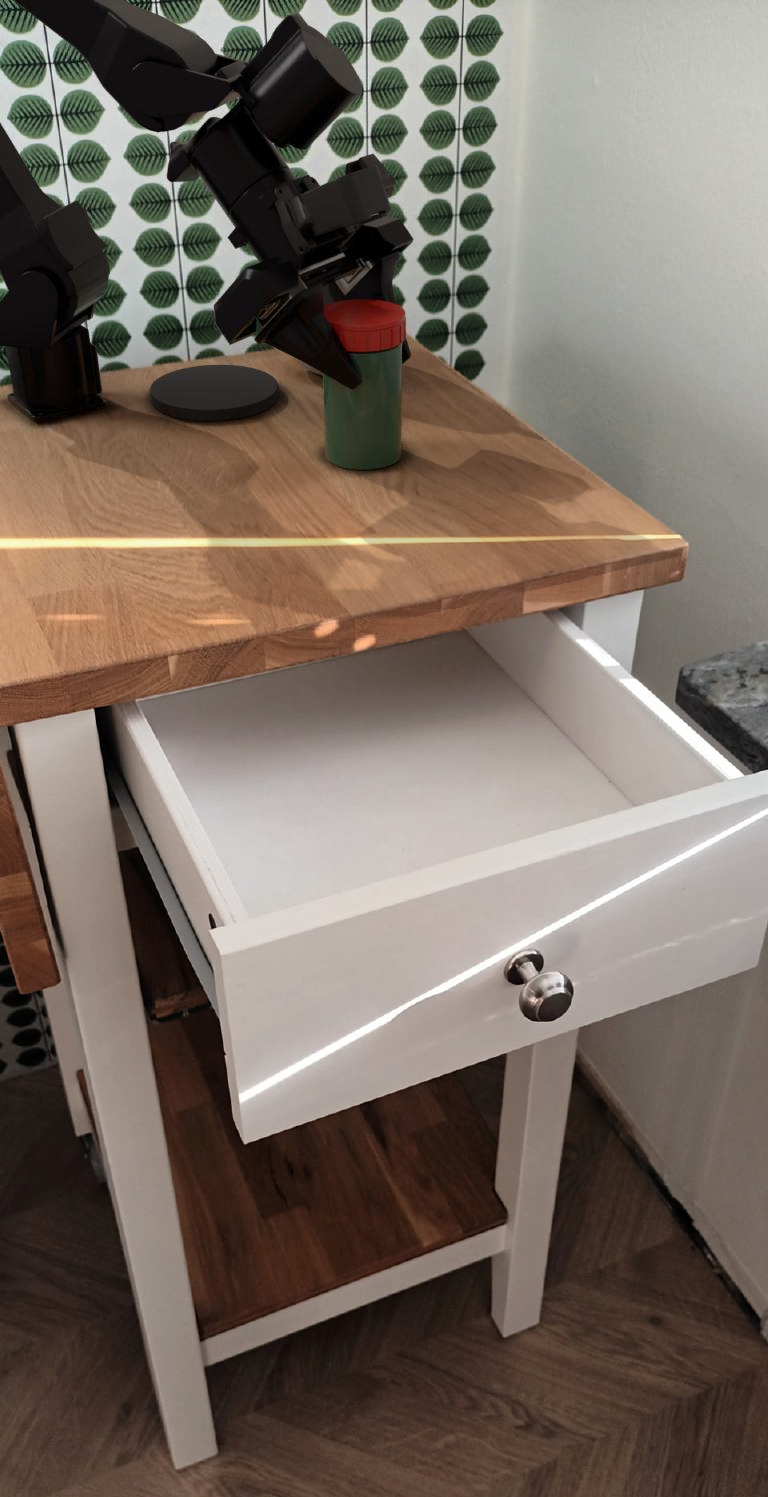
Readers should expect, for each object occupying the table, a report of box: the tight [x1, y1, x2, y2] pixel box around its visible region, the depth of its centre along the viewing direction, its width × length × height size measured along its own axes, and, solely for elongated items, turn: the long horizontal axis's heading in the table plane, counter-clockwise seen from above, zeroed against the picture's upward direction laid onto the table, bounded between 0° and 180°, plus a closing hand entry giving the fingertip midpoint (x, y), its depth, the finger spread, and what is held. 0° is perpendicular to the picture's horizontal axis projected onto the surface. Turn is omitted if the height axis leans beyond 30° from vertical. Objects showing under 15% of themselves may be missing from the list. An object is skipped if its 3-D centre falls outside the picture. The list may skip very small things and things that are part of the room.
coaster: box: [149, 364, 280, 422], centre depth 108 cm, size 11×11×1 cm
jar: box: [322, 343, 403, 471], centre depth 95 cm, size 6×6×11 cm
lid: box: [324, 299, 407, 352], centre depth 92 cm, size 6×6×2 cm
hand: (382, 373), depth 93 cm, fingers open, 6 cm apart
